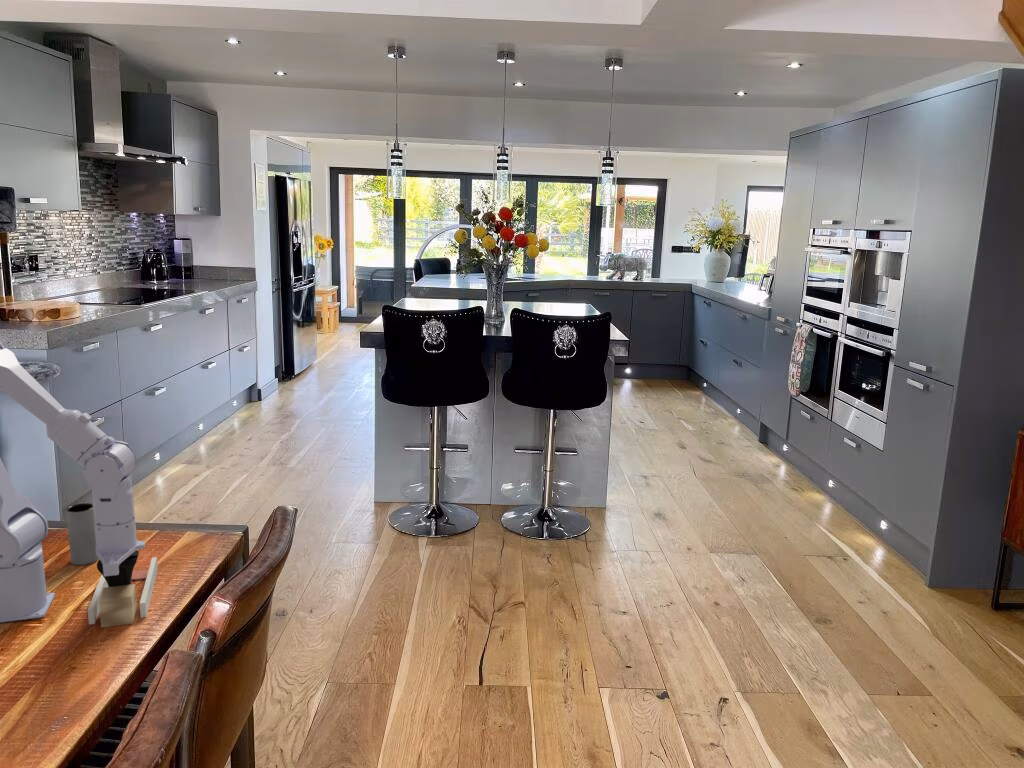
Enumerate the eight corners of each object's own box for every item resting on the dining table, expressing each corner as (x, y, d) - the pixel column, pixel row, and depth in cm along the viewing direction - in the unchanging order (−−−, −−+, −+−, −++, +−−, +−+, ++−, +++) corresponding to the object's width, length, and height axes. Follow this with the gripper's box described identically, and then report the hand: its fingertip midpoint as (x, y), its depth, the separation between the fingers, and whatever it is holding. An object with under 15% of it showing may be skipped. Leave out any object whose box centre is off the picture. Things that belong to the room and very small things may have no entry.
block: (101, 627, 119) (98, 600, 118) (105, 613, 123) (103, 587, 122) (133, 623, 120) (131, 596, 119) (136, 609, 124) (134, 584, 123)
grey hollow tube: (90, 565, 140) (85, 512, 138) (65, 565, 140) (60, 511, 138) (104, 555, 144) (99, 503, 142) (80, 554, 144) (75, 502, 142)
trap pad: (111, 583, 133) (111, 581, 133) (114, 574, 137) (114, 572, 136) (149, 578, 135) (149, 577, 135) (151, 570, 138) (151, 568, 138)
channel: (88, 624, 120) (87, 609, 119) (108, 575, 136) (106, 562, 136) (146, 617, 122) (145, 602, 122) (157, 569, 139) (157, 556, 138)
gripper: (137, 533, 117) (143, 616, 119) (147, 501, 130) (153, 576, 133) (84, 538, 114) (92, 622, 117) (100, 505, 128) (107, 581, 130)
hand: (121, 598), depth 125 cm, fingers closed
